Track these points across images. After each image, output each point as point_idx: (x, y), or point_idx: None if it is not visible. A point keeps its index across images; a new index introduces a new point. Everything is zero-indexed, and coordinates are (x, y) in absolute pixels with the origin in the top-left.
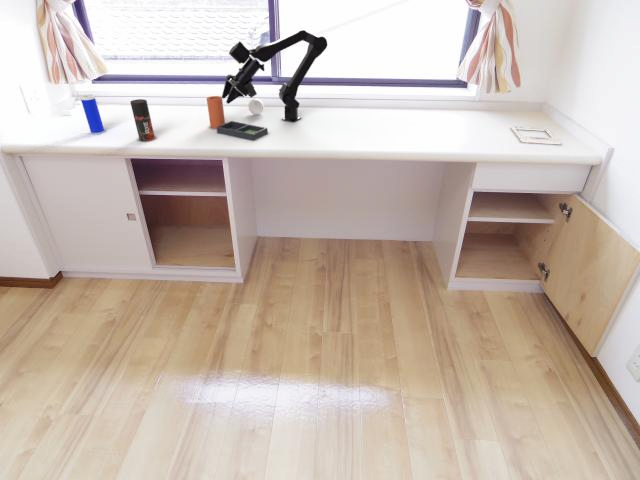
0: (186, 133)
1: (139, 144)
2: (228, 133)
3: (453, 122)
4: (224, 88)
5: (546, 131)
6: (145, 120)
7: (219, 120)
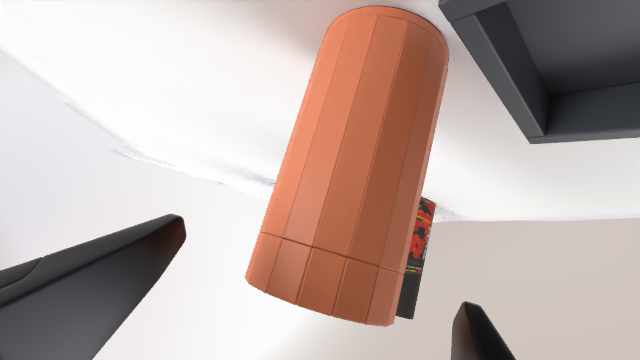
0: None
1: (449, 214)
2: None
3: None
4: (92, 353)
5: None
6: (423, 264)
7: (434, 125)
